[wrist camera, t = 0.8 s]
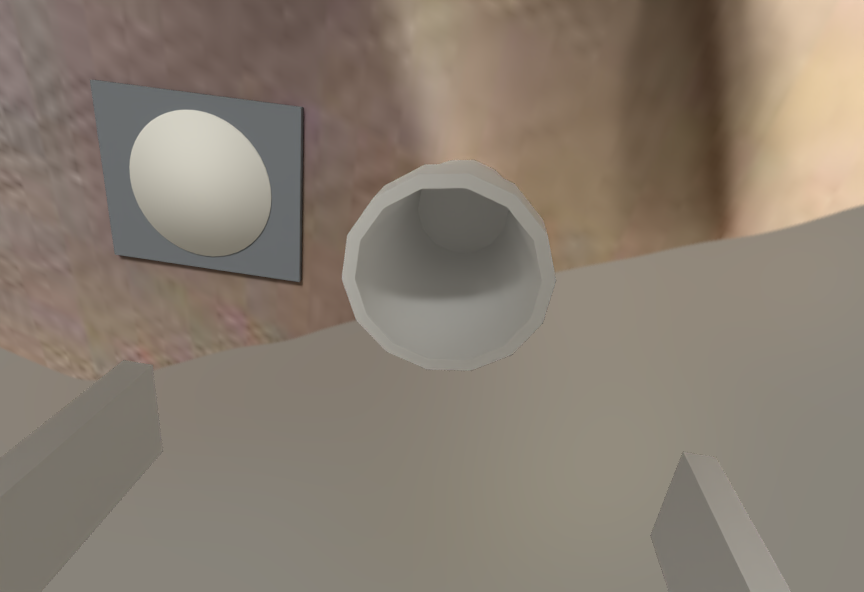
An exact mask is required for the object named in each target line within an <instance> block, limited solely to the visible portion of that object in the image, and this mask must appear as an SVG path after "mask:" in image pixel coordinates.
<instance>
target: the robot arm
mask: <svg viewBox="0 0 864 592" xmlns="http://www.w3.org/2000/svg"><path fill="white" fill-rule="evenodd" d="M162 452H163V449H162V439H161V431H160V423H159V415H158V406H157V397H156V389H155V381H154V372H153V365H150V364H144V363H137V362H131V361H125V360H123V361H122V362H121V363H119V364H118V365H117V366H116V367H114V368H113V369H112V370H110V371H109V372H108V373H107V374H105V375H104V376H103V377H102V378H100V379H99V380H98V381H97V382H95V383H94V384H93V385H92V386H90V387H89V388H88V389H87V390H85V391H84V392H83V393H81V394H80V395H79V396H78V397H76V398H75V399H74V400H72V401H71V402H70V403H69V404H67V405H66V406H65V407H64V408H62V409H61V410H60V411H59V412H57V413H56V414H55V415H54V416H52V417H51V418H50V419H48V420H47V421H46V422H45V423H43V424H42V425H41V426H40V427H38V428H37V429H36V430H34V431H33V432H32V433H31V434H29V435H28V436H27V437H26V438H24V439H23V440H22V441H21V442H19V443H18V444H17V445H15V446H14V447H13V448H12V449H10V450H9V451H8V452H7V453H5V454H4V455H3V456H2V457H0V592H42V590H43V589H44V588H45V587H46V586H47V585H48V584H49V582H50V581H51V580H52V579H53V578H54V577H55V575H56V574H57V573H58V572H59V571H60V570H61V569H62V567H63V566H64V565H65V564H66V563H67V562H68V560H69V559H70V558H71V557H72V556H73V555H74V553H75V552H76V551H77V550H78V549H79V548H80V547H81V545H82V544H83V543H84V542H85V541H86V540H87V538H88V537H89V536H90V535H91V534H92V533H93V532H94V530H95V529H96V528H97V527H98V526H99V525H100V523H101V522H102V521H103V520H104V519H105V518H106V517H107V515H108V514H109V513H110V512H111V511H112V510H113V508H114V507H115V506H116V505H117V504H118V503H119V501H120V500H121V499H122V498H123V497H124V496H125V494H126V493H127V492H128V491H129V490H130V489H131V488H132V486H133V485H134V484H135V483H136V482H137V481H138V480H139V478H140V477H141V476H142V475H143V474H144V473H145V471H146V470H147V469H148V468H149V467H150V466H151V464H152V463H153V462H154V461H155V460H156V459H157V458H158V456H159V455H160V454H161V453H162ZM651 539H652V542H653V545H654V548H655V551H656V555H657V558H658V561H659V564H660V567H661V570H662V573H663V576H664V579H665V582H666V585H667V588H668V591H669V592H791V590H790V589H789V587H788V585H787V583H786V581H785V580H784V578H783V576H782V575H781V573H780V571H779V569H778V567H777V565H776V564H775V562H774V560H773V558H772V556H771V555H770V553H769V551H768V549H767V548H766V546H765V544H764V542H763V540H762V539H761V537H760V535H759V533H758V531H757V530H756V528H755V526H754V524H753V522H752V521H751V519H750V517H749V515H748V513H747V512H746V510H745V508H744V506H743V505H742V503H741V501H740V499H739V497H738V496H737V494H736V492H735V490H734V488H733V487H732V485H731V483H730V481H729V480H728V478H727V476H726V474H725V472H724V470H723V469H722V467H721V465H720V463H719V461H718V460H717V458H716V457H714V456H707V455H701V454H695V453H689V452H683V453H682V455H681V458H680V461H679V463H678V466H677V468H676V471H675V473H674V476H673V478H672V481H671V484H670V486H669V489H668V491H667V494H666V497H665V499H664V502H663V504H662V507H661V510H660V512H659V514H658V517H657V520H656V522H655V525H654V527H653V530H652V532H651Z"/></svg>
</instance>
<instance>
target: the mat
mask: <svg viewBox="0 0 864 592" xmlns="http://www.w3.org/2000/svg"><path fill="white" fill-rule="evenodd" d="M90 84H91V91H92V98H93V105H94V112H95V119H96V126H97V133H98V140H99V147H100V154H101V161H102V168H103V175H104V182H105V189H106V196H107V203H108V210H109V217H110V224H111V231H112V238H113V245H114V252H115V254H116V255H122V256H129V257H136V258H142V259H149V260H156V261H162V262H169V263H176V264H182V265H189V266H196V267H202V268H209V269H216V270H222V271H229V272H236V273H242V274H249V275H256V276H262V277H269V278H276V279H282V280H289V281H296V282H300V281H301V260H302V171H303V107H298V106H290V105H283V104H275V103H267V102H260V101H252V100H244V99H237V98H229V97H221V96H214V95H206V94H198V93H191V92H183V91H175V90H168V89H160V88H152V87H145V86H137V85H129V84H122V83H114V82H106V81H99V80H90Z"/></svg>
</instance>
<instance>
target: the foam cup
mask: <svg viewBox="0 0 864 592" xmlns="http://www.w3.org/2000/svg"><path fill="white" fill-rule="evenodd" d="M342 281H343V284H344V287H345V290H346V293H347V296H348V298H349V301H350V304H351V307H352V310H353V313H354V315H355V318H356V321H357V322H358V323H359V324H360V325H362V327H363V328H364V329H365V330H366V331H367V332H368V333H369V334H370V335H371V336H372V337H373V338H374V339H375V340H376V341H377V342H378V343H379V345H380V346H381V347H382V348H383V349H384V350H385V351H386V352H388V353H390V354H393V355H395V356H397V357H399V358H402V359H404V360H406V361H409V362H411V363H413V364H415V365H418V366H420V367H422V368H425V369H428V370H460V371H472V370H475V369H477V368H480V367H482V366H485V365H487V364H490V363H493V362H495V361H498V360H500V359H503V358H506V357H508V356H510V355H513V354H514V353H515V352H516V350H517V349H518V348H519V347H520V346H521V345H522V344H523V343H524V342H525V341H526V340H527V339H528V338H529V337H530V336H531V335H532V334H533V333H534V332H535V331H536V330H537V329H538V328H539V327H540V326H541V325H542V324H543V321H544V318H545V315H546V312H547V308H548V305H549V302H550V299H551V296H552V293H553V289H554V286H555V283H556V277H555V271H554V266H553V261H552V256H551V250H550V245H549V240H548V235H547V231H546V228H545V224H544V221H543V219H542V218H541V216H540V215H539V214H538V212H537V211H536V210H535V209H534V207H533V206H532V205H531V204H530V202H529V201H528V200H527V199H526V197H525V196H524V195H523V193H522V192H521V191H520V190H519V188H518V187H517V186H516V185H515V184H514V183H512V182H510V181H508V180H506V179H504V178H503V177H502V176H501V175H500V174H499V173H498V172H497V171H496V170H495V169H493V168H491V167H489V166H486V165H484V164H482V163H480V162H478V161H476V160H450V161H447V162H444V163H441V164H427V165H423V166H421V167H419V168H417V169H415V170H413V171H412V172H410V173H408V174H406V175H404V176H402V177H400V178H398V179H396V180H394V181H392V182H390V183H389V184H387V185H385V186H384V187H383V188H382V189H381V190H380V191H379V192H378V193H377V194H376V195H375V196H374V198H373V199H372V201H371V202H370V203H369V205H368V206H367V208H366V209H365V211H364V212H363V213H362V215H361V216H360V218H359V219H358V221H357V222H356V223H355V225H354V226H353V228H352V229H351V231H350V232H349V233H348V235H347V241H346V249H345V257H344V265H343V273H342Z"/></svg>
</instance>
